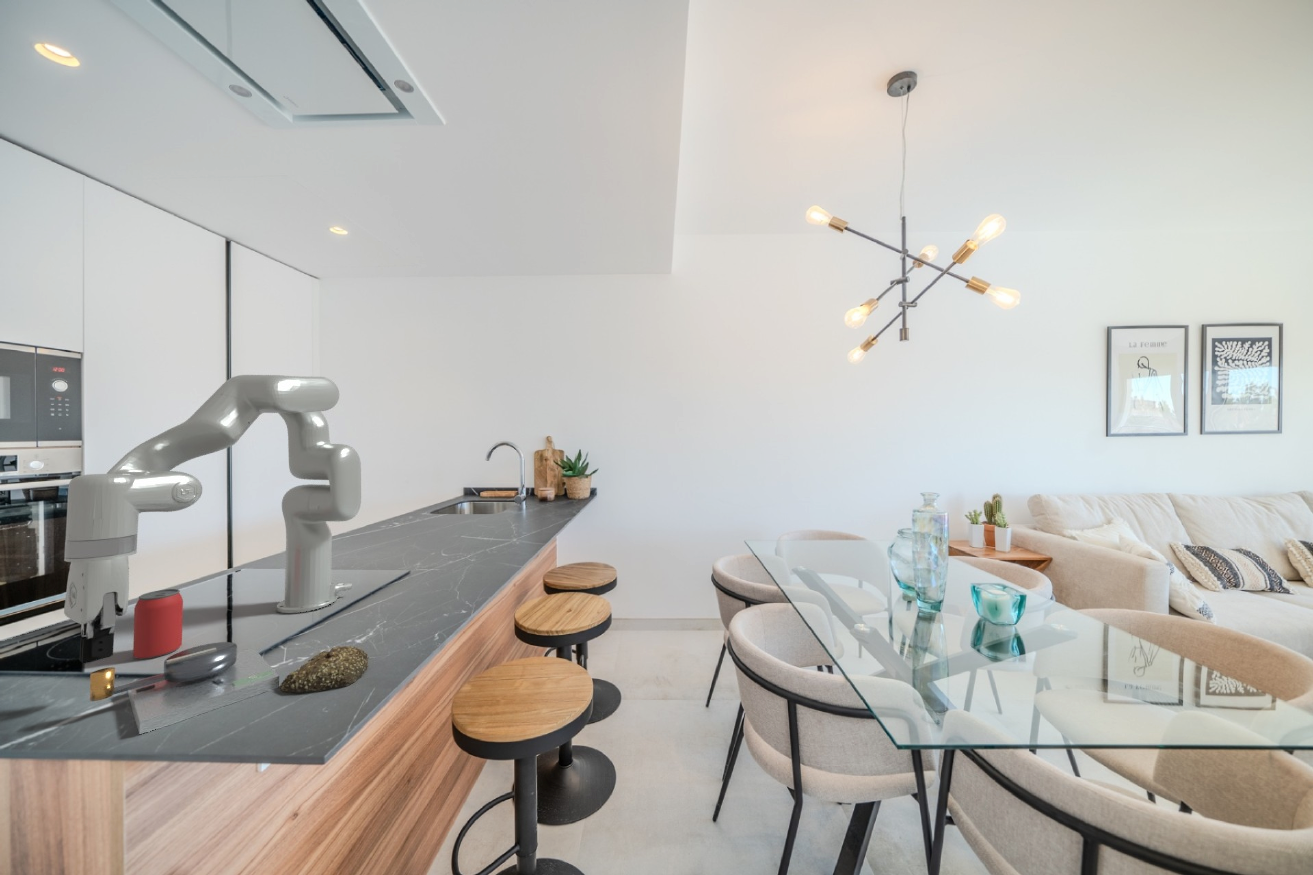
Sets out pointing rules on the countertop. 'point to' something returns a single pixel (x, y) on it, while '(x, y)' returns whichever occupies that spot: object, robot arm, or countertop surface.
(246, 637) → the countertop surface
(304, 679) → the bread roll
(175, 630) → the beer can
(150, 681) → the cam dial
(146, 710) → the plate
